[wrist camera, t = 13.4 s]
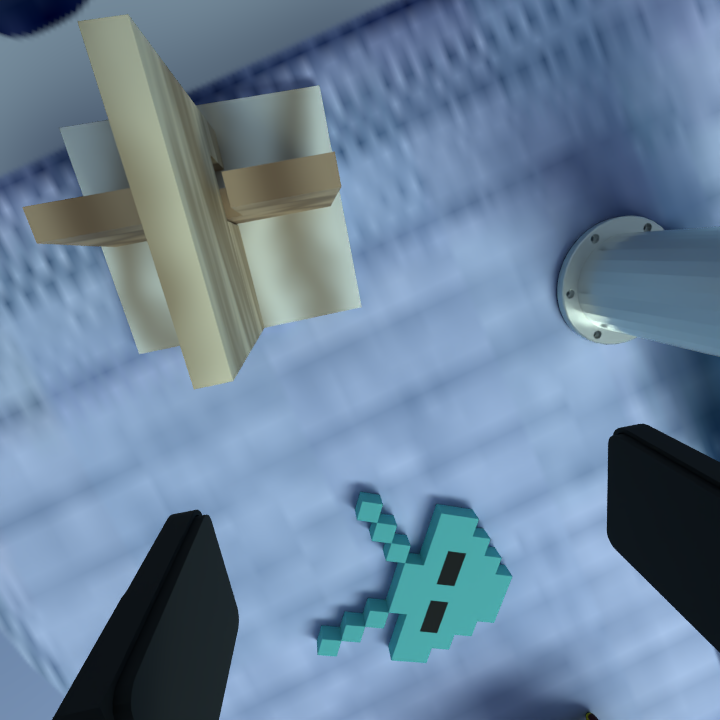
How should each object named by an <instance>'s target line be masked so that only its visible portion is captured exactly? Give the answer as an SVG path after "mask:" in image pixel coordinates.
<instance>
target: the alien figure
mask: <svg viewBox="0 0 720 720" xmlns="http://www.w3.org/2000/svg"><path fill="white" fill-rule="evenodd" d="M382 506H383V503H382V500H381V497H380V495H378V494H371V493H365V492H360V494H359V497H358V501H357V504H356V508H355V512H356V517H357V520H360V521H367V522H371V526H370V529H369V531H370V535H371V539H372V541H377V542H384V543H385V544H384V547H383V552H384V555H385V559H386V561H391V562H398V563H397V566H396V570H395V573H394V576H393V579H392V582H391V585H390V588H389V591H388V594H387V597H386V600H384V599H374V598H367V601H366V605H365V608H364V611H363V613H354V612H344V615H343V618H342V622H341V625H340V627H335V626H324V625H321V629H320V632H319V635H318V639H317V652H318V655H325V656H337V653H338V650H339V647H340V644H341V641H349V642H360V641H361V638H362V635H363V632H364V628H365V627H374V628H384V626H385V623H386V620H387V617H388V614H389V613H398V614H399V616H398V619H397V622H396V625H395V628H394V631H393V634H392V637H391V640H390V643H389V646H388V647H389V652H390V656H391V660H393V661H407V662H421V663H426V662H427V660H428V657H429V654H430V651H431V649H432V648H436V649H448V650H449V648H450V645H451V642H452V640H453V637H454V635H464V636H472V633H473V631H474V628H475V625H476V623H477V621H481V622H491V623H494V621H495V619H496V616H497V614H498V611H499V609H500V606H501V604H502V601H503V599H504V596H505V594H506V591H507V589H508V586H509V584H510V581H511V579H512V575H511V574H510V572H509V570H508V569H507V567H506V566H505V565H499V564H500V561H501V559H502V558H501V556H500V555H499V553H498V552H497V550H496V549H495V547H488V544H489V542H490V537H489V536H488V534H487V533H486V531H485V530H484V529H482V528H476V526H477V523H478V520H479V519H478V517H477V516H476V514H475V513H474V511H473V510H472V509H466V508H460V507H454V506H447V505H441V504H436V506H435V509H434V512H433V515H432V518H431V521H430V524H429V527H428V530H427V533H426V536H425V539H424V542H423V545H422V548H421V551H420V554H414V553H409V550H410V547H411V545H410V543H409V540H408V537H407V535H402V534H395V531H396V528H397V524H396V521H395V518H394V515H387V514H381V509H382Z"/></svg>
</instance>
